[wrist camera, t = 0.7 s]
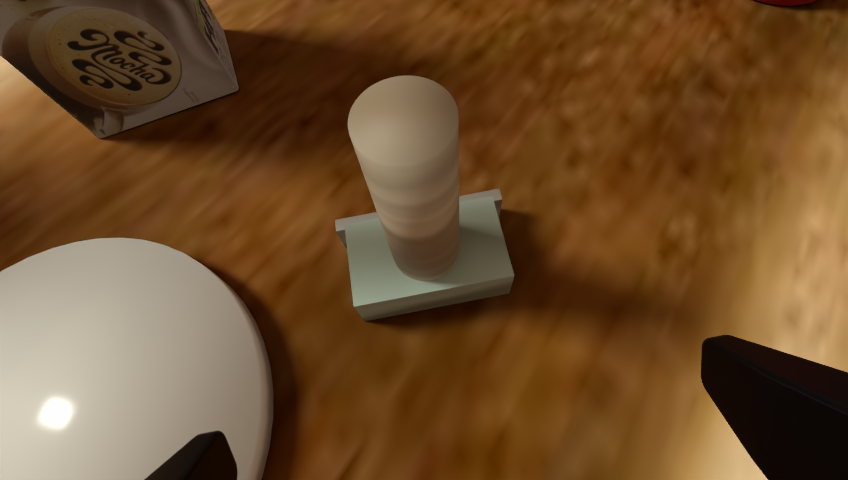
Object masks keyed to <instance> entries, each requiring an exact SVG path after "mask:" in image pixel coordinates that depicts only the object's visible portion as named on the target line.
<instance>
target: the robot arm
mask: <svg viewBox="0 0 848 480" xmlns="http://www.w3.org/2000/svg"><path fill="white" fill-rule="evenodd" d="M701 379H702V383H703V385H704V388H705V389H706V391H707V392H708V394H709V395H710V397H711V398H712V400H713V401H714V403H715V404H716V406H717V407H718V409H719V410H720V412H721V413H722V415H723V416H724V418H725V419H726V421H727V422H728V424H729V425H730V427H731V428H732V430H733V431H734V433H735V434H736V436H737V437H738V439H739V440H740V442H741V443H742V445H743V446H744V448H745V449H746V451H747V452H748V454H749V455H750V456H751V458H752V459H753V461H754V462H755V463H756V465H757V466H758V467H759V469H760V470H761V471H762V472H763V474H764V475H765V476H766V477H767V479H768V480H848V372H844V371H841V370H838V369H835V368H832V367H829V366H825V365H822V364H819V363H816V362H813V361H810V360H806V359H803V358H800V357H797V356H794V355H791V354H787V353H784V352H781V351H778V350H775V349H772V348H768V347H765V346H762V345H759V344H756V343H753V342H750V341H746V340H743V339H740V338H737V337H734V336H730V335H722V336H716V337H711V338H707V339H705V340H704V341H703V344H702V358H701ZM237 474H238V471H237V464H236V461H235V459H234V456H233V454H232V451H231V449H230V446H229V444H228V441H227V439H226V437H225V435H224V433H223V432H221V431H218V430H217V431H211V432H206V433H201V434H198V435H196V436H195V437H194V438H193V439H192V440H190V441H189V442H188V443H187V444H186V445H184V446H183V447H182V448H181V449H180V450H179V451H177V452H176V453H175V454H174V455H173V456H171V457H170V458H169V459H168V460H167V461H166V462H164V463H163V464H162V465H161V466H160V467H158V468H157V469H156V470H155V471H154V472H153V473H151V474H150V475H149V476H148V477H147V478H145V479H144V480H237Z"/></svg>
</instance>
